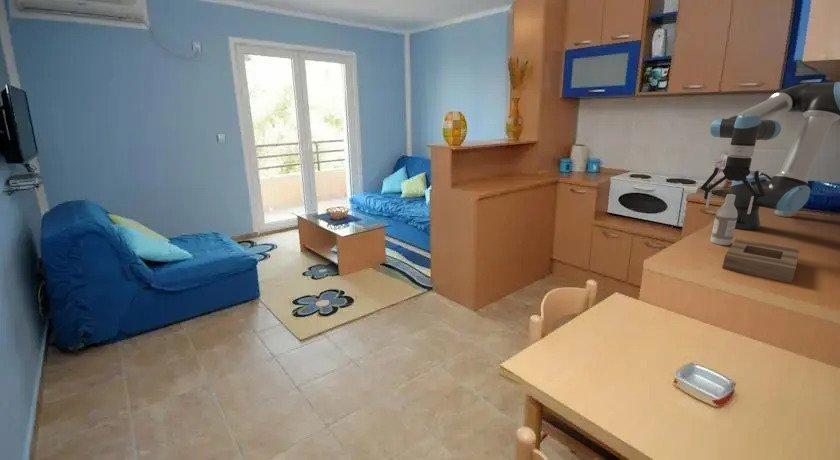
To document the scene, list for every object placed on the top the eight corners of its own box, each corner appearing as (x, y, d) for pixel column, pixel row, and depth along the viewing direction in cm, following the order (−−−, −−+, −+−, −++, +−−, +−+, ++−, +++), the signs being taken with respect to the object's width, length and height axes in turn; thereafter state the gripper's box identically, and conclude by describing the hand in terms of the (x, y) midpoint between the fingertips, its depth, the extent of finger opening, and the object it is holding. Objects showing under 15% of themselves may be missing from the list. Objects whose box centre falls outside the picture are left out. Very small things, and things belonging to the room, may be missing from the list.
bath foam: (707, 239, 169) (717, 192, 163) (726, 240, 167) (737, 193, 161) (714, 245, 162) (724, 196, 156) (734, 246, 160) (745, 197, 155)
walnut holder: (733, 250, 156) (736, 238, 154) (795, 262, 144) (799, 249, 142) (722, 268, 139) (725, 254, 138) (791, 283, 127) (795, 268, 126)
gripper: (699, 154, 160) (688, 206, 166) (781, 160, 143) (766, 217, 149) (703, 153, 165) (692, 203, 171) (783, 158, 148) (768, 214, 155)
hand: (727, 210), depth 160 cm, fingers open, 13 cm apart
